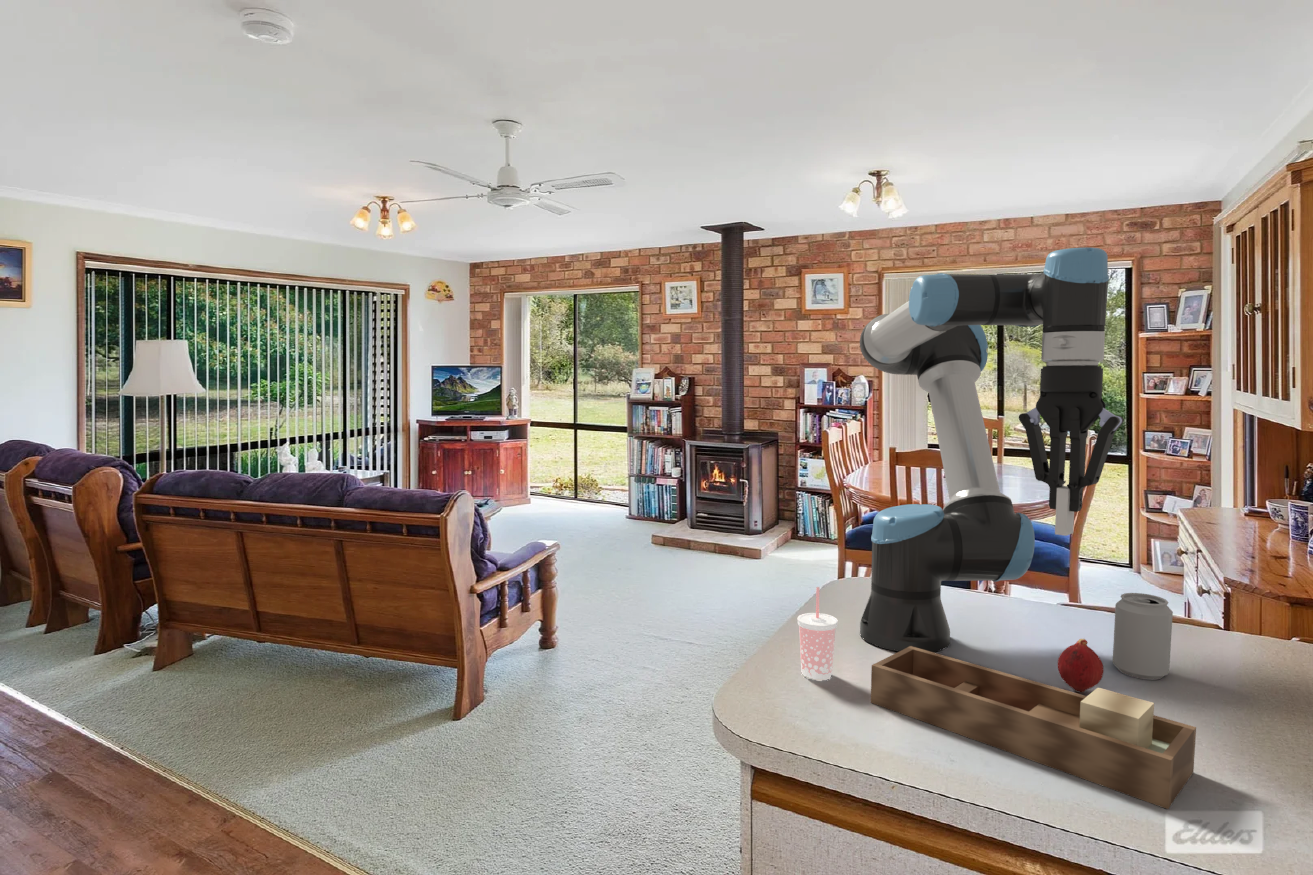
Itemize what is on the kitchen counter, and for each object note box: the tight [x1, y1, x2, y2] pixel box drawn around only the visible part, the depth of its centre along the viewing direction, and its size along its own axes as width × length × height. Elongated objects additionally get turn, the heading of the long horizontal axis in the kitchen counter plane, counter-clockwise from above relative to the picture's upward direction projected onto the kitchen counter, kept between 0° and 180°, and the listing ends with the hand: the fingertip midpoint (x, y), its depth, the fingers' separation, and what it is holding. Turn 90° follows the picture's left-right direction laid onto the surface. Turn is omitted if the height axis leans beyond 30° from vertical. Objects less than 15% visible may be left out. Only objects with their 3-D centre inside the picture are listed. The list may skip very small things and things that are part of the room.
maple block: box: [1079, 687, 1155, 749], centre depth 89 cm, size 6×6×5 cm
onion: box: [1057, 638, 1104, 693], centre depth 110 cm, size 6×6×8 cm
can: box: [1112, 592, 1174, 681], centre depth 117 cm, size 8×8×12 cm
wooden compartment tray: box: [870, 646, 1197, 810], centre depth 98 cm, size 36×11×6 cm, turn 43°
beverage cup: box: [796, 586, 839, 679], centre depth 116 cm, size 6×6×14 cm
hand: (1064, 533), depth 105 cm, fingers closed
